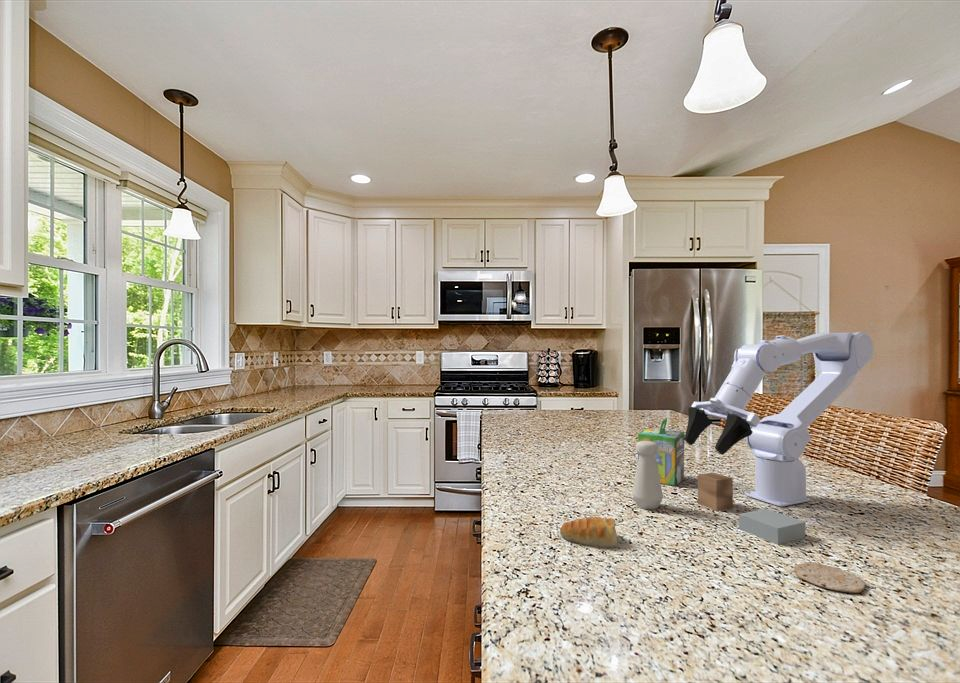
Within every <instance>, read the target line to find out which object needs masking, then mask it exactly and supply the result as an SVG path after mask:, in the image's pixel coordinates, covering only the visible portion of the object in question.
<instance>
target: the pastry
mask: <svg viewBox="0 0 960 683" xmlns="http://www.w3.org/2000/svg"><path fill="white" fill-rule="evenodd" d="M559 532H560V535H561V536H562V537H563V538H564V539H565V540H567V542H574V543H577V544H580V545H582V546H592V547H599V548H608V549H611V548H616V546H617V544H618V535H617V534H618V533H617V531H616V521H615V519H614V518H612V517H609V518H603V517H600V516H589V517H588V518H586V517H582V518H579V519H578V518H576V519H574V520H572V521H571V520H570V521H566V522H563V524H562V525H561V527H560V528H559Z"/></svg>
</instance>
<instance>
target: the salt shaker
mask: <svg viewBox="0 0 960 683" xmlns="http://www.w3.org/2000/svg"><path fill="white" fill-rule="evenodd" d="M635 444H636V445H635V452H636V454H638V453H639V460H638V459H637V466H636V471H635V477H634V482H633V486H632V492H631V493H632V497H633V499H634V500H633V501H634V502H635V505H636V506H637V507H638V508H640V509H643V510H656V509H659V508H660V505H661V503H662V501H663V498H664V497H663V496H664V495H663V490H662V484H661V483H660V478H659V473H658V467H657V462H656V457H655V455H656V454H658V445H657V444H656V443H655V442H651V441H639V442H638V441H637V442H636V443H635Z"/></svg>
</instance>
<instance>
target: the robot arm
mask: <svg viewBox="0 0 960 683" xmlns="http://www.w3.org/2000/svg"><path fill="white" fill-rule="evenodd" d="M873 350H874V343H873V340H872V338H871V336H870V335H869V334H868V333H867V332H865V331H857V332H820V333H813V334H810V335H808V336H804V337H800V338H797V339H796V338H793V337H792V336H787V335H785V334H782V335H780V334H779V335H776V336H775V339H771V340H768V339H762V340H759V343H754V344H751V343H750V344H744V345H742V346H741V347H740V348H736V349H735V350H734V354H733V355H734V356H733V363H732V365H731V369H730V372H729V374H728V375H727V377H726V378H725V379H724V381H723V383H722V385H721V386H720V388H719V389H718V391H717V393H716V394H715V396H714V397H710V399H709V401H693V403H692V404H691V406H689V407H688V410H687V411H688V412H687V413H688V419H687V420H688V421H687V427H686V429H685V430H686V432H685V435H684V442H686V443H687V444H688V445H690V446H692V445H693V444H695V443H696V442H697V440H698V439H699V437H700V435H701V434H702V433H703V432H704V431H705V430H706V429H707V428H708V427H709V426H711V425H713V420H712V419H710V418H709V416H710V417H715V418H719V419H720V418H721V419H723V420H726V421H725V423H724V424H725V425H724V427H723V429H722V431H721V434H720V436H719V438H718V439H717V441H716V444H715V445H714V449H715V450H716V451H717V452H718V453H719V455H725V454H726V453H727V452H728V451H729V450H730V449H731V448H732V447H733V446H734V445H736V444H737V443H738V442H740V441H742V440H744V439H745V442H746V446H748V448H749V449H750V450H751V454H752V455H754V484H755V485H754V487H755V488H754V491H751V492H746V493H745V496H746V497H749V498H753V499H756V500H759V501H762V502H765V503H768V504H771V505H774V506H778V507H786V506H787V507H788V506H792V505H796V504H801V503H807V502H811V498H809V497H807V473H806V472H807V470H806V467H805V465H804V463H803V462H802V460H800V457H802V455H803V453H804V452H805V449H806V447H807V445H808V444H809V442H811V435H810V432H809V430H808V428H809V427H810V426H811V425H812V424H813V423H814V422H815V421H816V419H818V418H819V417H820V415H822V414H823V413H824V411H826V410H827V409H828V408H829V407H830V406H831V405H832V404H833V403H834V402H835V401H836V400H837V399H838V398H839V397H840V396H842V394H843V393H844V392H845V391H846V390H847V389H848V388H849V387H850V386H851V384H852V383H853V382H854V380H855V378H856V376H857V374H858V373H859V372H860V371H861V370H862V369H864V367H865V366H866V365H868V363H869V362H870V361H871V360H872V359H873V356H874V353H873ZM811 353H812V355H813V359H814V365H815V370H816V371H817V372H818V373H819V375H818V376H817V377H816V378H815V379H814V380H813V381H812V382H811V383H810V384H809V385H808V386H807V387H806V388H805V389H804V390H802V392H801V393H800V394H799V395H797V397H796V398H794V399H793V400H792V401H791V402H790V403H789V404H788V405H787V406H786V407H785V408H783V410H782V411H781V412H779V413H776V414H773V415H768V416H765V417H763V418H762V419H761V418H760V417H759V416H758V415H757V414H756V413H755V412H750V411H747V410H746V407H747V405H748V404H749V402H750V400H751V398H752V397H753V395H754V394H755V392H756V390H757V388H758V387H759V386H760V384H761V382H762V380H763V378H764V377H765V375H766V373H771V372H772V373H774V372H776V371H777V370H778V369H779V367H781V366H785V365H789V364H793V363H796V362H798V361H799V360H800V359H801V357H802V355H806V354H811Z"/></svg>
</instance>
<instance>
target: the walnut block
mask: <svg viewBox="0 0 960 683" xmlns="http://www.w3.org/2000/svg"><path fill="white" fill-rule="evenodd" d="M733 481H734V480H733V477H730V476H727V475H724V474H722V473H721V474H720V473H716V472H708V473H707V472H706V473H700V474H697V505H700V506H702V507H705V508H709V509H711V510H713V511H717V512H718V511H723V510H729V509H734V502H733V501H734V489H733V488H734V484H733Z"/></svg>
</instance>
